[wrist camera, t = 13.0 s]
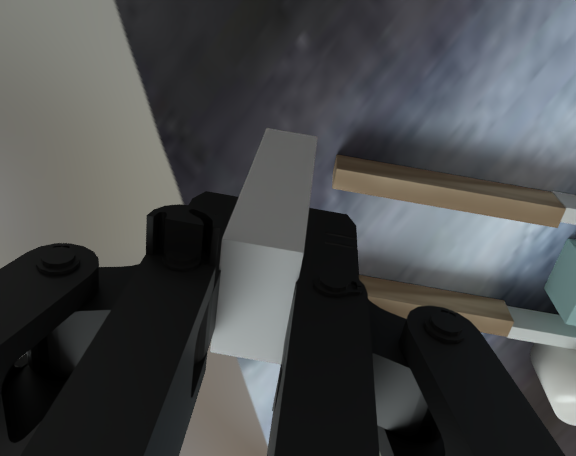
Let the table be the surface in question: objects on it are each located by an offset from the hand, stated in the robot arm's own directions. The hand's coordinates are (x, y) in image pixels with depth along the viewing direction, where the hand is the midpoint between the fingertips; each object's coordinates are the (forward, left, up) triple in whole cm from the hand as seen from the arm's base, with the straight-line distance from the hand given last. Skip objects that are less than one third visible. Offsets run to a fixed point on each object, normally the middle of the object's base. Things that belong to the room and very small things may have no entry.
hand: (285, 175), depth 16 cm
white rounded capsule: (+23, +27, -25) cm, 43 cm away
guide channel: (+14, +12, -24) cm, 30 cm away
